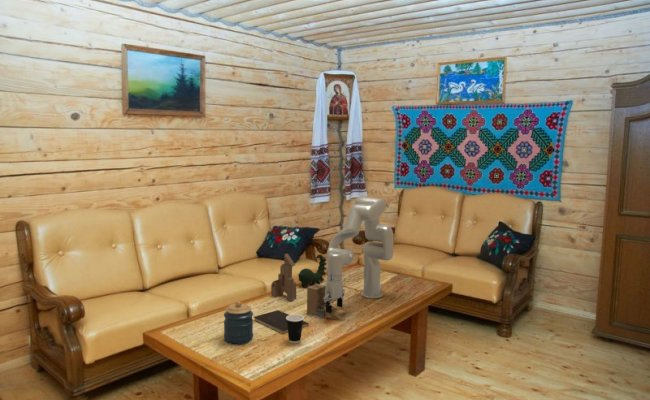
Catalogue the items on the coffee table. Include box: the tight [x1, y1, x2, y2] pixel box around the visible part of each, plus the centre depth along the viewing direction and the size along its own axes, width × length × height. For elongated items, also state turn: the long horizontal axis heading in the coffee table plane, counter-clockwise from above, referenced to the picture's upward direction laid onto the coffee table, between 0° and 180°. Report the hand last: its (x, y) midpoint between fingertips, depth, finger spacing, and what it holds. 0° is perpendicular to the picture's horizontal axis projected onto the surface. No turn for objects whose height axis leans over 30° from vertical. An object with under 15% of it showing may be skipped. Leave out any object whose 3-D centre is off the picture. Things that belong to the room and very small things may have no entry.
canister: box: [223, 300, 254, 346], centre depth 223 cm, size 13×13×18 cm
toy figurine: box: [297, 254, 327, 288], centre depth 307 cm, size 9×19×25 cm
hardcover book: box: [253, 309, 309, 335], centre depth 244 cm, size 16×23×2 cm
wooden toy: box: [270, 253, 297, 302], centre depth 281 cm, size 16×7×25 cm, turn 52°
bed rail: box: [321, 305, 347, 322], centre depth 253 cm, size 13×4×5 cm, turn 54°
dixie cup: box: [286, 314, 305, 344], centre depth 222 cm, size 8×8×11 cm
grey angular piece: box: [306, 283, 335, 319], centre depth 257 cm, size 8×11×14 cm
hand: (334, 309), depth 253 cm, fingers open, 9 cm apart
